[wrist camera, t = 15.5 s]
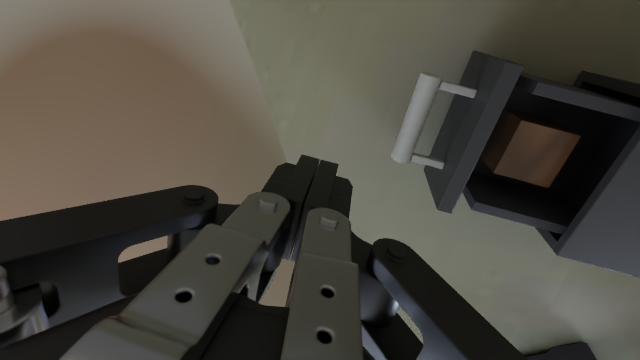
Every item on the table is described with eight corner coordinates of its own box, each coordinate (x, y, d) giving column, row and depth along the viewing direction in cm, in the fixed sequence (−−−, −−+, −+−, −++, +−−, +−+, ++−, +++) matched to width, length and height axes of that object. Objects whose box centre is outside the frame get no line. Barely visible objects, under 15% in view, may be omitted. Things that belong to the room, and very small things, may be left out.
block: (552, 119, 28) (500, 105, 28) (582, 135, 24) (521, 119, 24) (525, 166, 30) (477, 153, 30) (548, 188, 26) (493, 173, 26)
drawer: (381, 158, 33) (383, 195, 26) (423, 37, 28) (439, 43, 21) (557, 205, 32) (607, 256, 25) (633, 91, 27) (722, 116, 20)
